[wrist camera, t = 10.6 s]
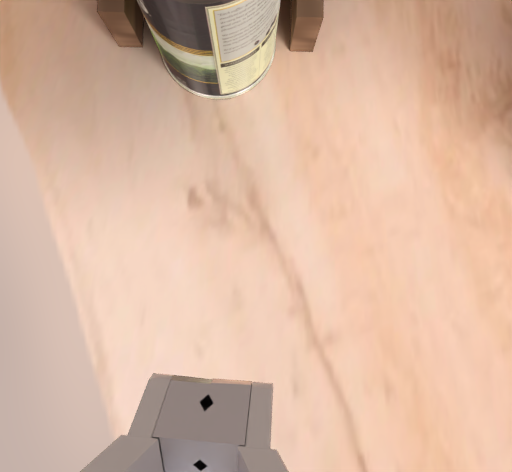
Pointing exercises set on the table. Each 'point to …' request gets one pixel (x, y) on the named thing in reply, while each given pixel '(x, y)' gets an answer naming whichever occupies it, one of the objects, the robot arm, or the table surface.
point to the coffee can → (214, 42)
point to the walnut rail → (131, 22)
